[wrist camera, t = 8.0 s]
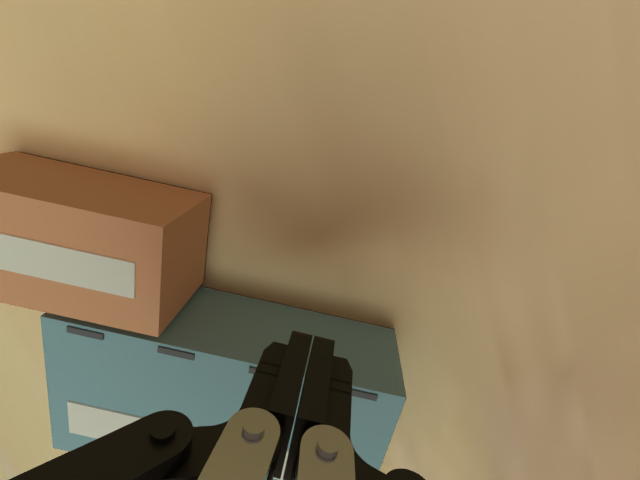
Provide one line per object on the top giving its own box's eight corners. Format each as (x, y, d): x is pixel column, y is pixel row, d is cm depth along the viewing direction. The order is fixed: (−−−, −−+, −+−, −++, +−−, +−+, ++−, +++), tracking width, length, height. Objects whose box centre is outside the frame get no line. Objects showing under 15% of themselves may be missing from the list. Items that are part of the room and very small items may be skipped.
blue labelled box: (394, 329, 20) (406, 399, 16) (360, 433, 23) (361, 519, 19) (111, 266, 20) (38, 317, 16) (112, 378, 23) (51, 449, 19)
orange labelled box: (211, 194, 18) (161, 228, 14) (203, 282, 20) (157, 338, 15) (15, 151, 18) (-103, 170, 14) (25, 242, 20) (-76, 287, 16)
